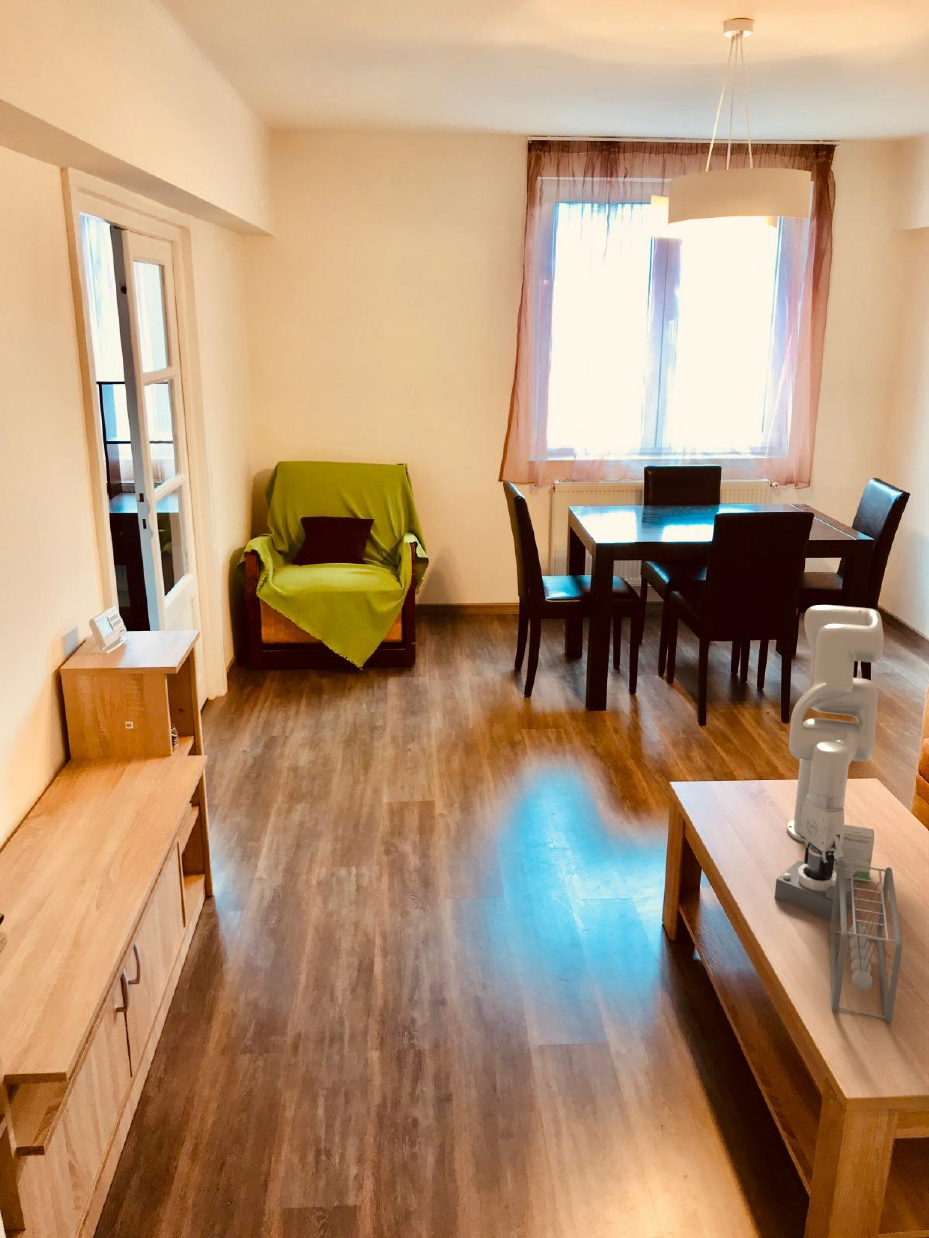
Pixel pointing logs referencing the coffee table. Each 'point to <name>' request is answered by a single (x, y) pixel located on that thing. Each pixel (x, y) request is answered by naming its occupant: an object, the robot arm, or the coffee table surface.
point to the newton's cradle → (864, 942)
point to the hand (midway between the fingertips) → (818, 868)
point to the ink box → (857, 851)
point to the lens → (815, 863)
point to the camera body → (810, 891)
